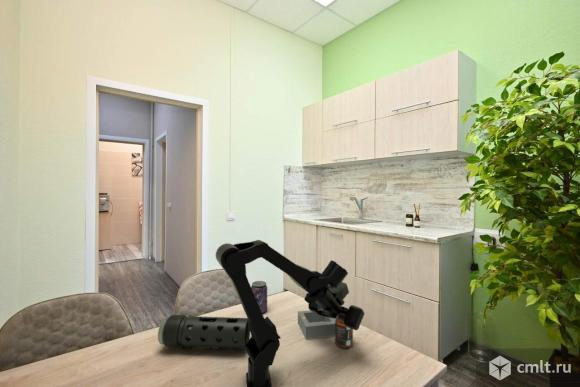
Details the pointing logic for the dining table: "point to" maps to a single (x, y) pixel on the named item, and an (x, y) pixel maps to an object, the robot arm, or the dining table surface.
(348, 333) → the supplement bottle
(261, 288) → the beverage can
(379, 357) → the dining table surface
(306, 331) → the socket housing
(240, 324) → the muzzle brake
